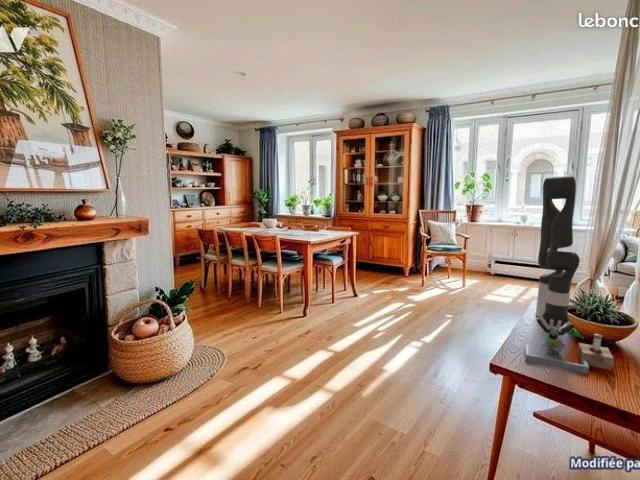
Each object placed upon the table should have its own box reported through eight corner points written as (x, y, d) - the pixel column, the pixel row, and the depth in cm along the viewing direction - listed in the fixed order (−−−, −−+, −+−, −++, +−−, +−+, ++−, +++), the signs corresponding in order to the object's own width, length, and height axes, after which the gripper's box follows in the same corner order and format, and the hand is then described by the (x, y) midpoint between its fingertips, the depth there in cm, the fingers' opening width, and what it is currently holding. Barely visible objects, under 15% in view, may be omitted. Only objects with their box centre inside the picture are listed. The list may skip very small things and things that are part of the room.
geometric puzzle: (556, 356, 133) (564, 336, 134) (537, 348, 138) (544, 330, 140) (561, 361, 137) (569, 343, 139) (542, 354, 143) (549, 336, 144)
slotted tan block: (577, 353, 139) (578, 342, 138) (606, 359, 135) (607, 347, 134) (581, 364, 131) (582, 352, 130) (612, 370, 127) (613, 358, 126)
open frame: (524, 349, 143) (525, 343, 142) (582, 360, 134) (583, 354, 133) (525, 361, 133) (526, 354, 133) (588, 373, 125) (589, 367, 124)
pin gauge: (588, 359, 135) (592, 332, 133) (598, 360, 134) (601, 334, 132) (590, 362, 132) (593, 335, 131) (599, 364, 131) (603, 337, 129)
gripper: (576, 301, 139) (571, 342, 142) (537, 296, 145) (532, 336, 149) (579, 307, 133) (573, 351, 136) (538, 302, 139) (533, 343, 142)
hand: (552, 343), depth 142 cm, fingers closed
